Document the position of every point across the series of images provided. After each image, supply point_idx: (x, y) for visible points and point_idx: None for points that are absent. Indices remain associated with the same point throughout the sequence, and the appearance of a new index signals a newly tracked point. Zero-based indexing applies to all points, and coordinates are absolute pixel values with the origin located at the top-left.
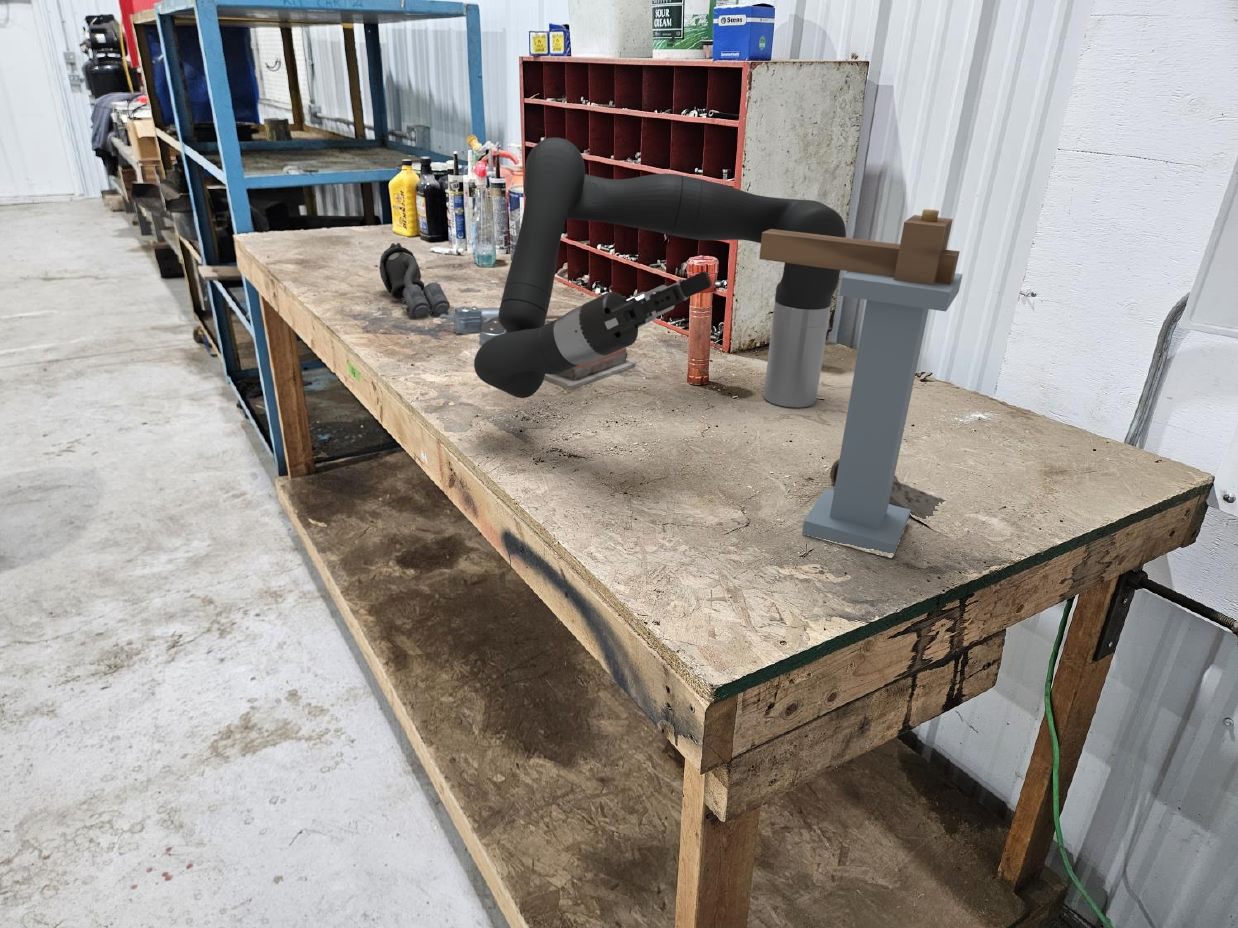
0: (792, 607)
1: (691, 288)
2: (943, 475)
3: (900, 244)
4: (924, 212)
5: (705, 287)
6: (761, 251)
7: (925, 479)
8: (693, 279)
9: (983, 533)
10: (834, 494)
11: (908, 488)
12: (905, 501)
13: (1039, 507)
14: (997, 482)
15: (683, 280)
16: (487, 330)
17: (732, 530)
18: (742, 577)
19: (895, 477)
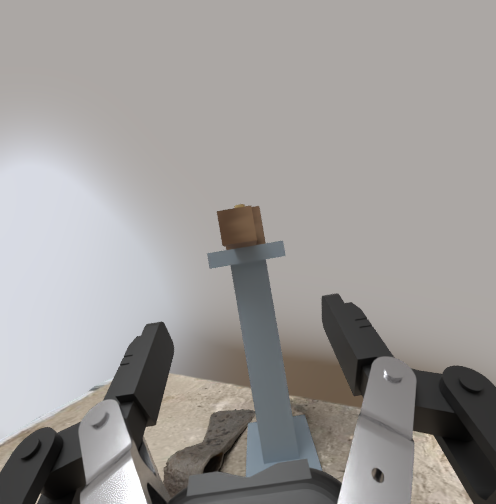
0: (427, 448)
1: (156, 385)
2: (157, 440)
3: (261, 220)
4: (243, 205)
5: (169, 357)
6: (254, 229)
7: (168, 447)
8: (153, 355)
9: (239, 404)
10: (295, 434)
11: (208, 437)
12: (230, 433)
13: (193, 396)
14: (162, 416)
15: (139, 379)
16: None
17: None
18: (447, 500)
19: (198, 444)
